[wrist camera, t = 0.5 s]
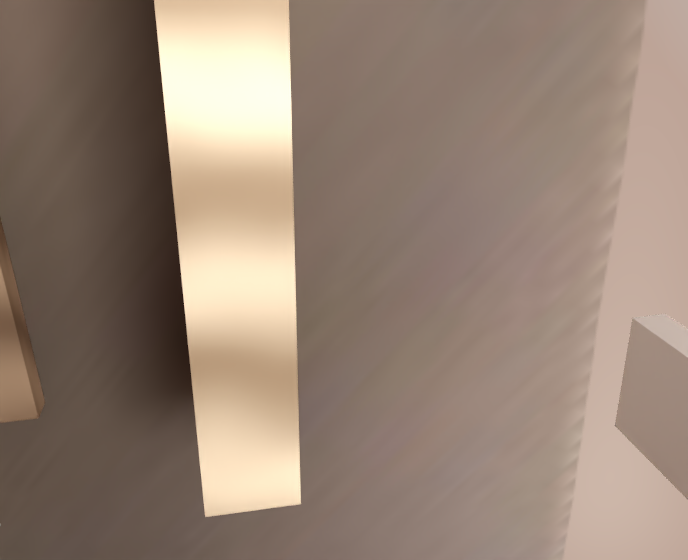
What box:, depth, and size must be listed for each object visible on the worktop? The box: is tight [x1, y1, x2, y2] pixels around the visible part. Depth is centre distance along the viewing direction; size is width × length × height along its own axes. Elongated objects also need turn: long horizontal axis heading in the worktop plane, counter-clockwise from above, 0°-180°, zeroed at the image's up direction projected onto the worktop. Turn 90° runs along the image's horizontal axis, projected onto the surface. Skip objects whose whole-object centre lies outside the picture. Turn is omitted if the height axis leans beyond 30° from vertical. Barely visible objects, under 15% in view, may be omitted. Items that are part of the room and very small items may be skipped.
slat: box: [154, 0, 301, 517], centre depth 27 cm, size 24×4×11 cm, turn 0°
